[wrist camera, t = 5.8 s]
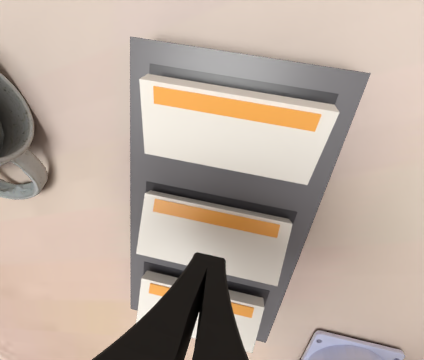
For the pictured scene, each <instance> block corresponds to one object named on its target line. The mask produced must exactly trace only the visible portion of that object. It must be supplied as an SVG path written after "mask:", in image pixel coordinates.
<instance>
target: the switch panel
mask: <svg viewBox="0 0 424 360" xmlns="http://www.w3.org/2000/svg"><path fill="white" fill-rule="evenodd" d="M147 74H152V75H158V76H164V77H170V78H176V79H182V80H189V81H195V82H201V83H207V84H213V85H219V86H225V87H231V88H237V89H243V90H249V91H255V92H261V93H267V94H273V95H279V96H285V97H291V98H297V99H303V100H309V101H315V102H322V103H328V104H334V105H335V106H336V108H337V109H338V111H339V112H340V113H339V115H338V117H337V119H336V122H335V124H334V126H333V128H332V131H331V133H330V135H329V137H328V140H327V142H326V144H325V146H324V149H323V151H322V153H321V156H320V158H319V160H318V162H317V165H316V167H315V169H314V171H313V174H312V176H311V178H310V180H309V183H308V185H304V184H299V183H294V182H289V181H283V180H278V179H273V178H268V177H263V176H258V175H253V174H247V173H242V172H237V171H232V170H227V169H222V168H217V167H211V166H206V165H201V164H196V163H191V162H186V161H180V160H175V159H170V158H165V157H160V156H155V155H150V154H145V152H144V138H143V124H142V111H141V97H140V83H139V79H140V78H141V77H143V76H145V75H147ZM370 74H371V73H365V72H358V71H352V70H345V69H339V68H332V67H326V66H319V65H313V64H306V63H300V62H293V61H287V60H280V59H273V58H267V57H260V56H254V55H247V54H241V53H234V52H228V51H221V50H215V49H208V48H202V47H195V46H189V45H182V44H175V43H169V42H162V41H156V40H149V39H143V38H136V37H130V206H131V309H134V310H138V304H139V295H140V287H141V279H142V277H143V275H144V274H145V272H146V271H151V272H155V273H160V274H164V275H168V276H172V277H177V278H179V276H180V275H181V274H182V272H183V271H184V270H185V268H186V267H187V265H183V264H178V263H174V262H170V261H165V260H161V259H157V258H152V257H148V256H144V255H139V254H136V251H137V244H138V237H139V230H140V223H141V216H142V209H143V202H144V195H145V193H146V192H148V191H150V190H152V191H156V192H161V193H166V194H171V195H176V196H181V197H185V198H190V199H195V200H200V201H205V202H210V203H214V204H219V205H224V206H229V207H234V208H239V209H243V210H248V211H253V212H258V213H263V214H268V215H272V216H277V217H282V218H287V219H290V221H291V222H292V224H293V225H292V229H291V233H290V237H289V241H288V245H287V249H286V253H285V258H284V262H283V266H282V270H281V274H280V278H279V282H278V286H274V285H269V284H265V283H261V282H256V281H252V280H248V279H243V278H239V277H235V276H230V275H226V277H227V284H228V290H232V291H236V292H240V293H245V294H249V295H253V296H257V297H261V298H263V300H264V311H263V315H262V319H261V323H260V326H259V330H258V334H257V338H256V340H257V341H261V342H265V343H266V341H267V338H268V336H269V333H270V330H271V328H272V325H273V323H274V320H275V318H276V315H277V312H278V310H279V307H280V305H281V302H282V300H283V297H284V295H285V292H286V289H287V287H288V284H289V282H290V279H291V277H292V274H293V271H294V269H295V266H296V264H297V261H298V259H299V256H300V253H301V251H302V248H303V246H304V243H305V241H306V238H307V235H308V233H309V230H310V228H311V225H312V223H313V220H314V218H315V215H316V212H317V210H318V207H319V205H320V202H321V200H322V197H323V194H324V192H325V189H326V187H327V184H328V182H329V179H330V176H331V174H332V171H333V169H334V166H335V164H336V161H337V158H338V156H339V153H340V151H341V148H342V146H343V143H344V141H345V138H346V135H347V133H348V130H349V128H350V125H351V123H352V120H353V117H354V115H355V112H356V110H357V107H358V105H359V102H360V99H361V97H362V94H363V92H364V89H365V87H366V84H367V81H368V79H369V76H370Z"/></svg>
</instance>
